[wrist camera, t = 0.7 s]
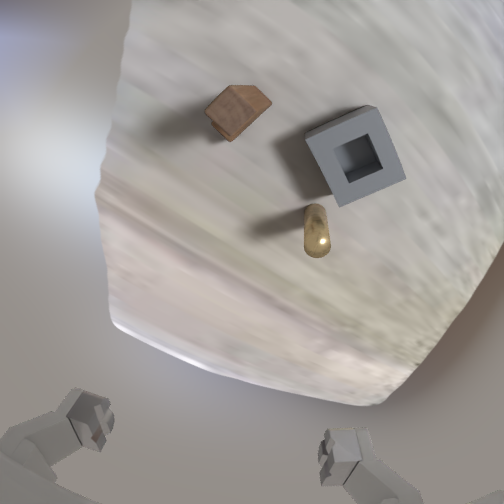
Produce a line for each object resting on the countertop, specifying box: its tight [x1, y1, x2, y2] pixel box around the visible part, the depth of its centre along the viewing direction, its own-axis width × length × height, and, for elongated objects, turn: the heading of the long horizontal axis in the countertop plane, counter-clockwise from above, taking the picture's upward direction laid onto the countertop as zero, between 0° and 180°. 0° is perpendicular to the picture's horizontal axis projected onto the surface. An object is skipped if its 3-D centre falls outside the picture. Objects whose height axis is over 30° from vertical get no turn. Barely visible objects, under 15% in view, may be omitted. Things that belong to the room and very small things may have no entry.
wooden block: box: [205, 85, 272, 142], centre depth 39 cm, size 9×4×18 cm, turn 135°
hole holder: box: [305, 105, 406, 207], centre depth 45 cm, size 12×12×6 cm
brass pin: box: [304, 204, 331, 258], centre depth 50 cm, size 4×4×12 cm
